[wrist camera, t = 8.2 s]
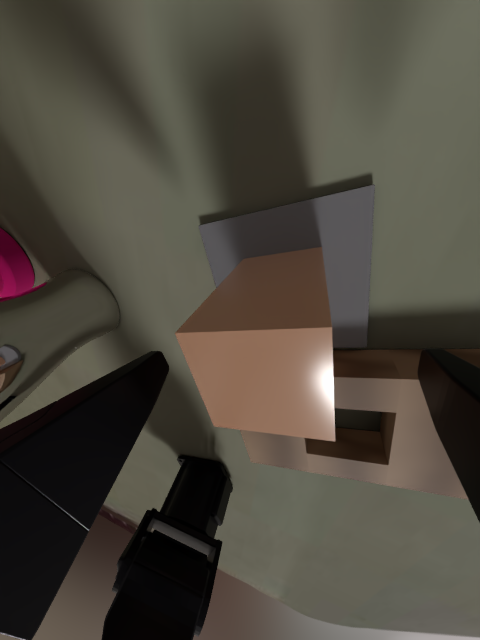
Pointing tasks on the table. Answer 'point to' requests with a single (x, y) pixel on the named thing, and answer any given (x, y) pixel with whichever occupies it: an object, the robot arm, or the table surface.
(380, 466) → the pocket board
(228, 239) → the pad
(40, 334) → the beer glass
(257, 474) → the table surface
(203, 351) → the block
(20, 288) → the pepper mill
